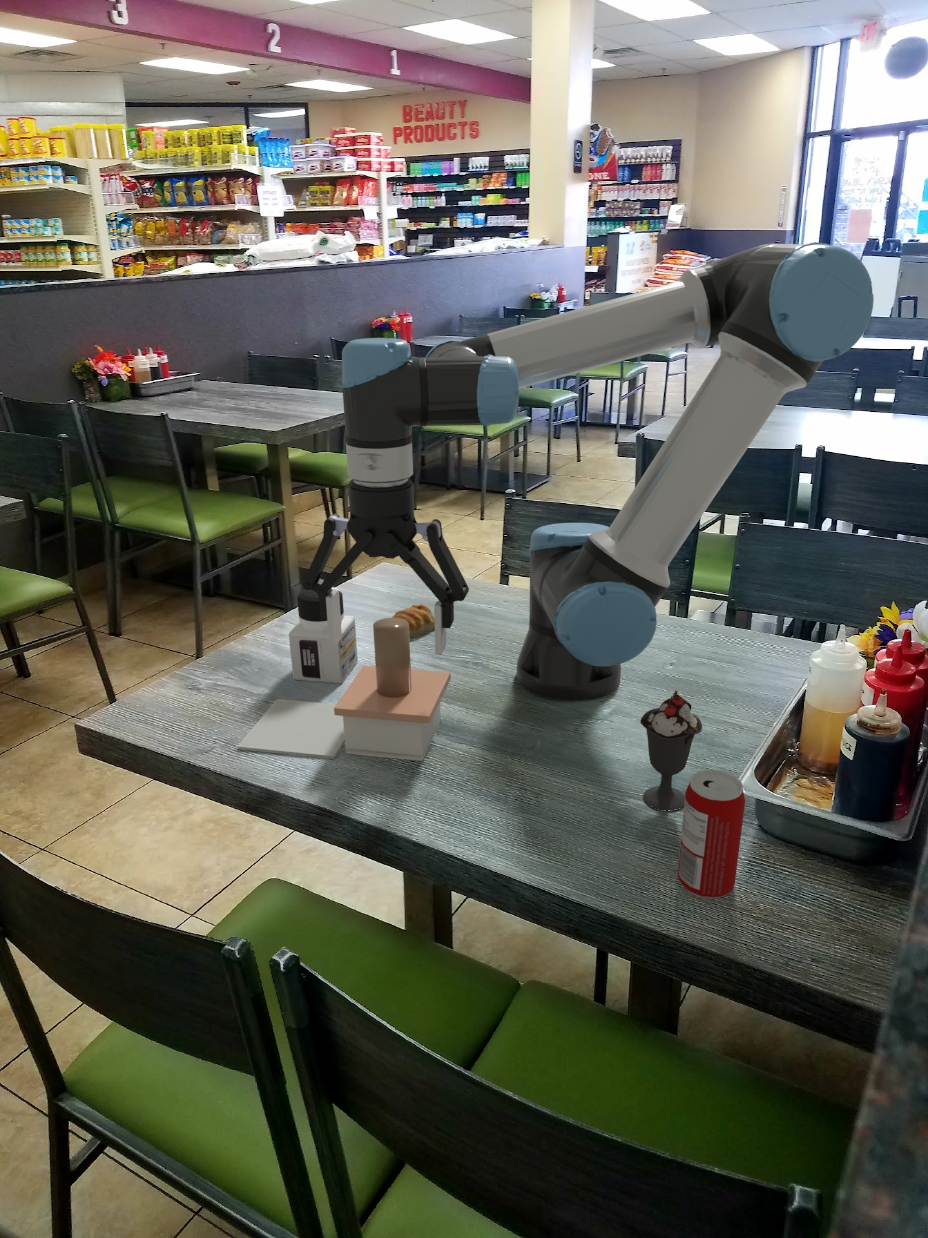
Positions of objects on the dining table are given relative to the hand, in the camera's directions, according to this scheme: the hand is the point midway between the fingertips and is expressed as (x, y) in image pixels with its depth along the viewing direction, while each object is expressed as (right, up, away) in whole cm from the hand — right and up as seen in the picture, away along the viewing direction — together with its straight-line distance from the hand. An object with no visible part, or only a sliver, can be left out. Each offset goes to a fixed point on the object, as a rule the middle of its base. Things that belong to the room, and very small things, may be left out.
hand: (387, 646), depth 112 cm
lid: (+1, -6, +3) cm, 7 cm away
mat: (-12, -11, +8) cm, 18 cm away
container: (-11, -5, +24) cm, 26 cm away
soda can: (+34, -23, -22) cm, 46 cm away
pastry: (+1, +1, +37) cm, 37 cm away
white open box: (0, -12, +5) cm, 13 cm away
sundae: (+33, -17, -9) cm, 38 cm away
